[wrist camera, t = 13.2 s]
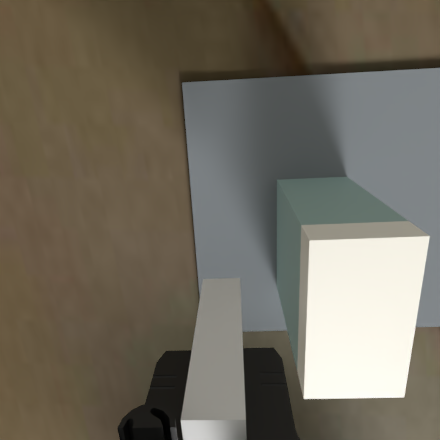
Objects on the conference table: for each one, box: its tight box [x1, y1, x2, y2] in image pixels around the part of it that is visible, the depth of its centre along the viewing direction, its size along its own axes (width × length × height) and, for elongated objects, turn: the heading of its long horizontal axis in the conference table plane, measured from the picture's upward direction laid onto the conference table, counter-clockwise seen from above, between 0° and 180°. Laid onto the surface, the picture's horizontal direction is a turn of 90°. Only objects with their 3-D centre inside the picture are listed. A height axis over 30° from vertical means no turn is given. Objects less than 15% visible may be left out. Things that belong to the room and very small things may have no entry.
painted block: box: [277, 177, 430, 399], centre depth 17 cm, size 4×7×9 cm, turn 3°
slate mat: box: [182, 68, 440, 332], centre depth 21 cm, size 20×16×1 cm
